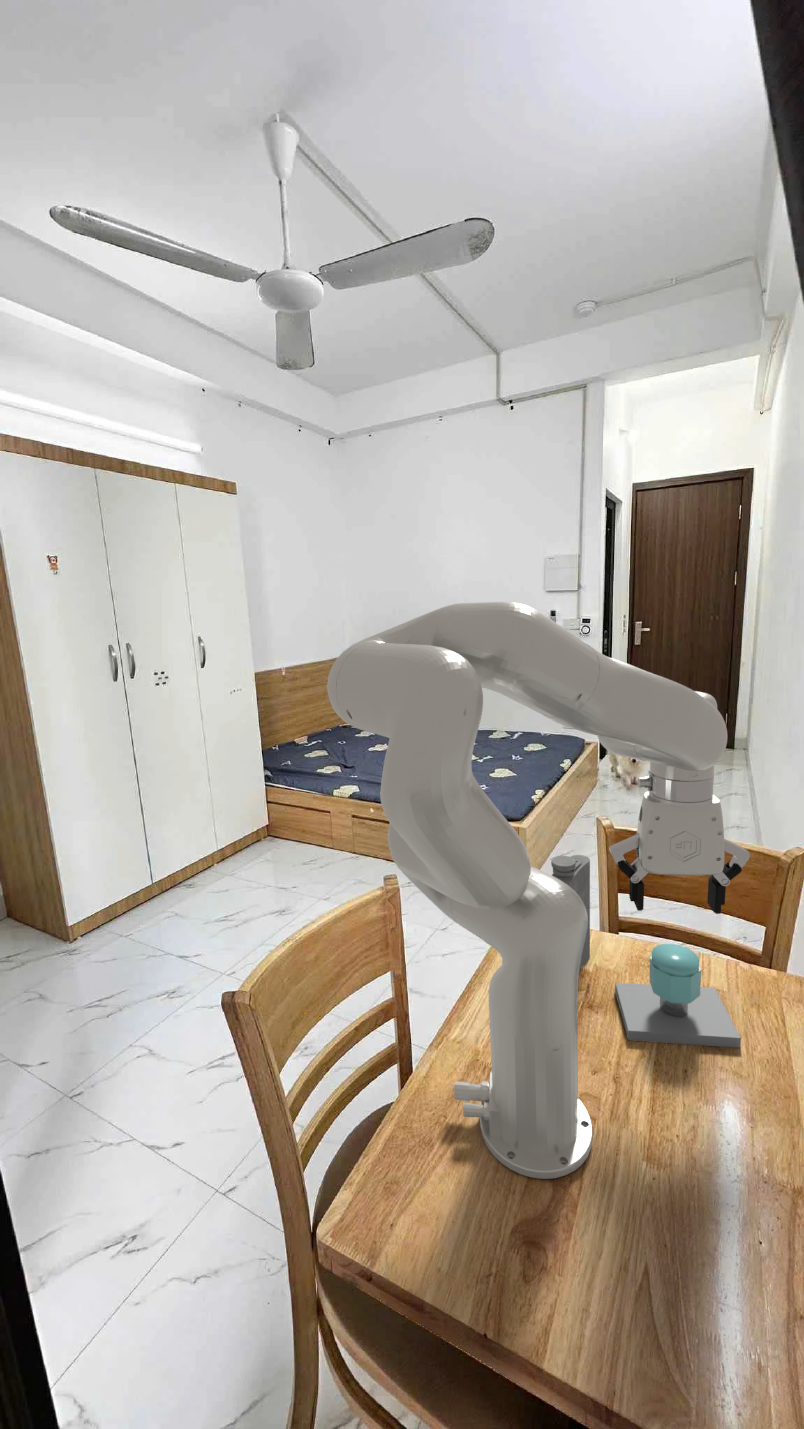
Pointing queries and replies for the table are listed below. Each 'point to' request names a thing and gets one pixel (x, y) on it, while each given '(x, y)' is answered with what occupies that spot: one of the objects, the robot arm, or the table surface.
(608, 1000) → the table surface
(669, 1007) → the steel stud
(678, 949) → the cap
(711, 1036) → the stud base
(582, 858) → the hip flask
